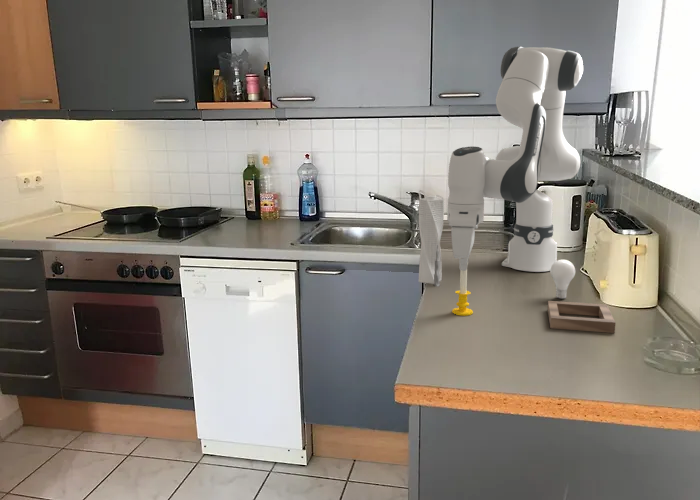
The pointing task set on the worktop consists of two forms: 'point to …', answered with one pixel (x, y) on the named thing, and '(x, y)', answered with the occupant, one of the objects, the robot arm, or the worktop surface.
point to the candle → (462, 297)
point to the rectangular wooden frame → (578, 323)
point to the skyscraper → (430, 238)
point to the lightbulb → (562, 276)
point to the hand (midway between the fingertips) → (463, 268)
